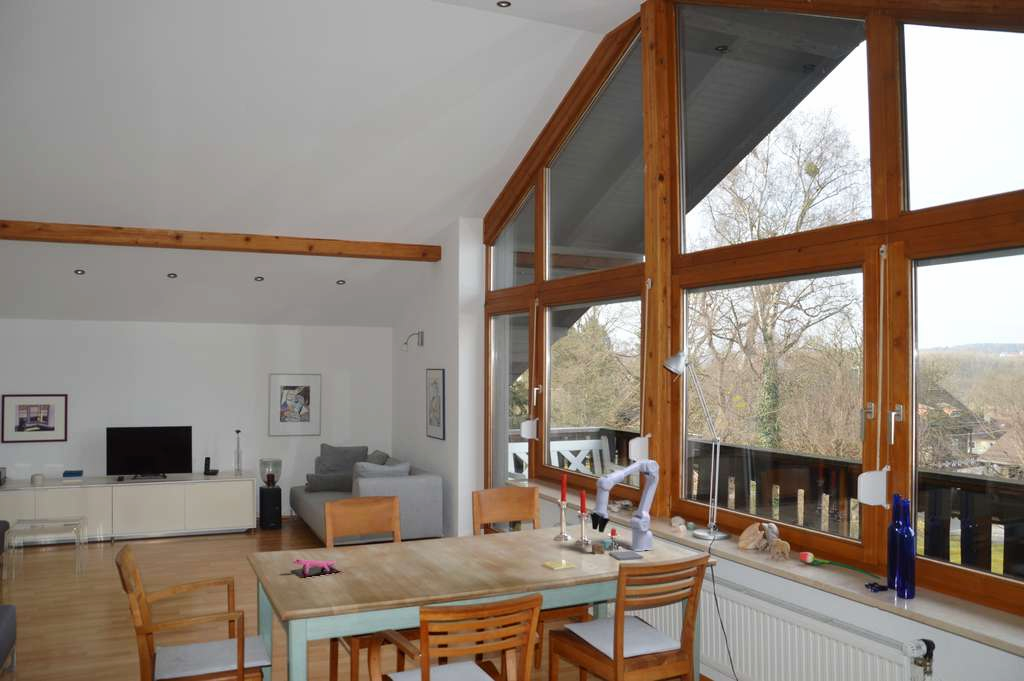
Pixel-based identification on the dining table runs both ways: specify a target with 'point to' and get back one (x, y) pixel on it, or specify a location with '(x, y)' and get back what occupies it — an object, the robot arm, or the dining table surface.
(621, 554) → the base plate
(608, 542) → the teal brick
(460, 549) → the dining table surface
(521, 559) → the dining table surface
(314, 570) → the pink animal figurine
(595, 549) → the brown cube
